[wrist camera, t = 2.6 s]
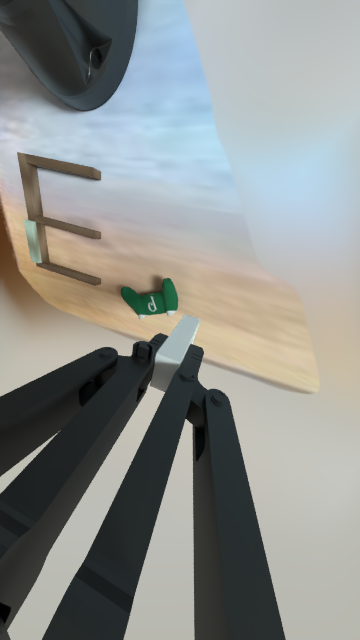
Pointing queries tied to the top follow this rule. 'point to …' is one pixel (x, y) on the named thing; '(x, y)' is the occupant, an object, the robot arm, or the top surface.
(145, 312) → the gaming controller
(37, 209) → the letter e shape
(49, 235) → the top surface
